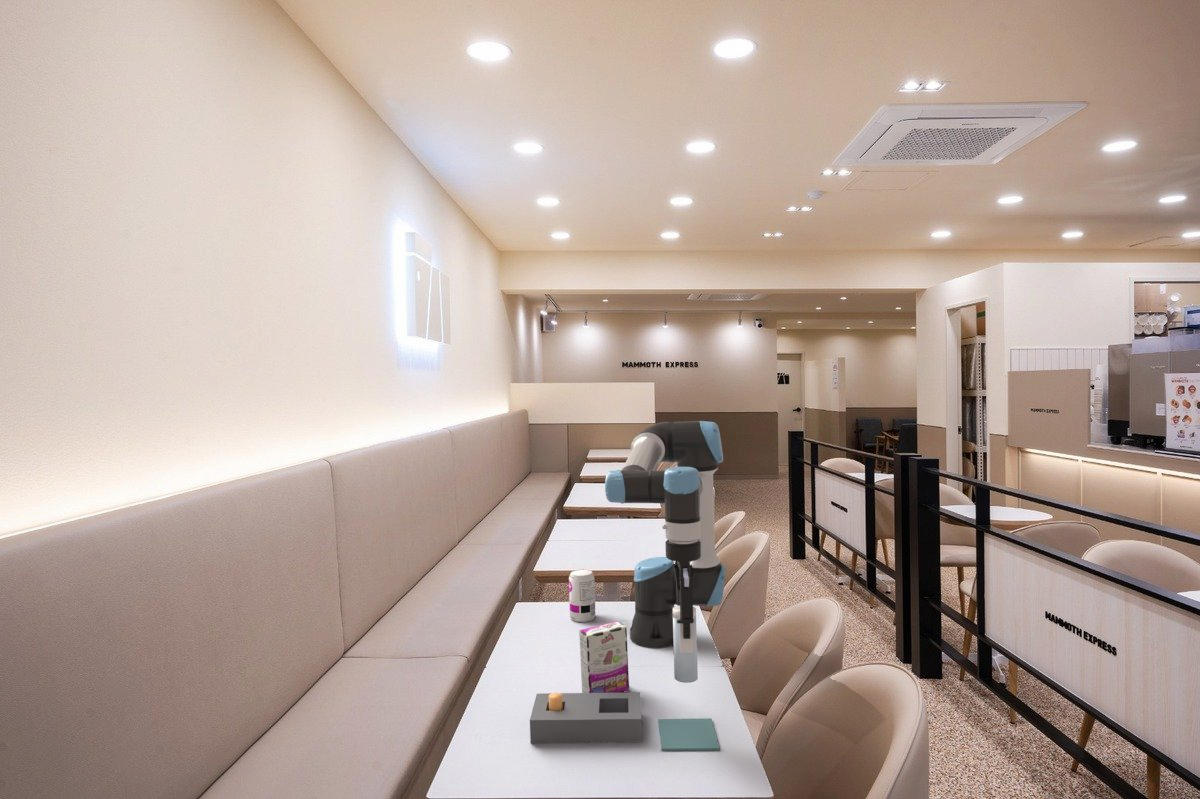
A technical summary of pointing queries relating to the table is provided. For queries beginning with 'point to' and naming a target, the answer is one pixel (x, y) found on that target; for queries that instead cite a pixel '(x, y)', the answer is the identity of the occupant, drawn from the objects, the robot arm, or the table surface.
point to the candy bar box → (604, 658)
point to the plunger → (555, 702)
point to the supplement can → (582, 595)
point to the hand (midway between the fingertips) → (685, 646)
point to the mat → (687, 735)
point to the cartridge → (684, 661)
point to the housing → (587, 718)
